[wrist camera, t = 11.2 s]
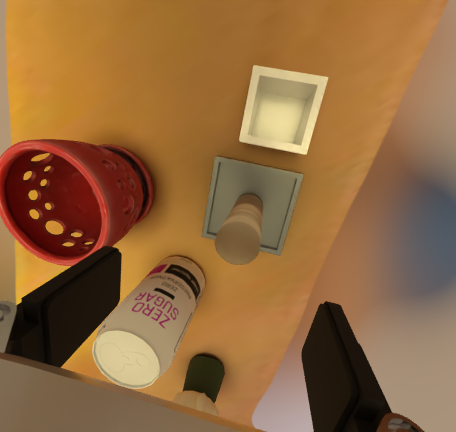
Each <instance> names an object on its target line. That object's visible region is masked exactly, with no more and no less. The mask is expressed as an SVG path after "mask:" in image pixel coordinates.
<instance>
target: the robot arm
mask: <svg viewBox="0 0 456 432" xmlns="http://www.w3.org/2000/svg"><path fill="white" fill-rule="evenodd" d="M121 256H122V255H121V253H120V252H119V250H118V249H117V248H114V247H110V246H103V247H102V248H100V249H98V250H97V251H95V252H94V253H92V254H90V255H89V256H87V257H86V258H84V259H83V260H81V261H79V262H78V263H76V264H75V265H73V266H72V267H70V268H68V269H67V270H65V271H64V272H62V273H61V274H59V275H57V276H56V277H54V278H53V279H51V280H50V281H48V282H46V283H45V284H43V285H42V286H40V287H38V288H37V289H35V290H34V291H32V292H31V293H29V294H27V295H26V296H24V297H23V298H21V299H22V302H21V303H20V304H18V305H17V306H16V305H15V304H14V303H12V302H9V301H0V432H265V431H262V430H259V429H256V428H253V427H250V426H247V425H243V424H240V423H237V422H234V421H231V420H228V419H225V418H221V417H218V416H215V415H212V414H209V413H206V412H202V411H199V410H196V409H193V408H190V407H186V406H183V405H180V404H177V403H173V402H170V401H167V400H164V399H161V398H157V397H154V396H151V395H148V394H144V393H141V392H138V391H135V390H132V389H128V388H125V387H122V386H118V385H115V384H112V383H109V382H105V381H102V380H99V379H95V378H92V377H89V376H86V375H82V374H79V373H76V372H72V371H69V370H66V369H62V368H60V367H61V366H62V365H63V364H64V363H65V362H66V361H67V360H68V359H69V358H70V357H71V356H72V354H73V353H74V352H75V351H76V350H77V349H78V348H79V347H80V346H81V345H82V343H83V342H84V341H85V340H86V339H87V338H88V337H89V336H90V335H91V334H92V333H93V331H94V330H95V329H96V328H97V327H98V326H99V325H100V324H101V323H102V322H103V321H104V319H105V318H106V317H107V316H108V315H109V314H110V313H111V312H112V311H113V310H114V309H115V307H116V306H117V305H118V303H119V300H120V282H121ZM302 363H303V369H304V375H305V381H306V387H307V393H308V399H309V404H310V411H311V417H312V422H313V429H314V432H424V431H423V430H422V429H421V428H420V427H419V426H418V425H417V424H415V423H414V422H412V421H411V420H410V419H408V418H407V417H404V416H402V415H400V414H397V413H392V411H391V409H390V407H389V405H388V403H387V401H386V399H385V396H384V394H383V392H382V390H381V388H380V386H379V384H378V381H377V380H376V377H375V375H374V373H373V371H372V369H371V367H370V364H369V362H368V360H367V358H366V356H365V354H364V352H363V349H362V347H361V346H360V344H359V343H358V342H357V340H356V338H355V335H354V333H353V331H352V329H351V327H350V325H349V323H348V320H347V318H346V316H345V314H344V312H343V310H342V307H341V306H340V305H339V304H335V303H331V302H327V301H326V302H325V303H324V304H320V305H319V307H318V310H317V312H316V315H315V318H314V320H313V323H312V325H311V328H310V330H309V333H308V336H307V338H306V341H305V344H304V346H303V349H302Z"/></svg>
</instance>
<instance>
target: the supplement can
mask: <svg viewBox="0 0 456 432" xmlns="http://www.w3.org/2000/svg"><path fill="white" fill-rule="evenodd" d="M204 288H205V279H204V276H203V274H202V271H201V269H200V268H199V267H198V266H197V265H196V264H195V263H194V262H192V261H190V260H188V259H186V258H183V257H177V256H174V257H168V258H166V259H164V260H163V261H161V262H160V263H159V264H158V265H157V266H156V267H155V268H154V269H153V270H152V271H151V272H150V273H149V274H148V275H147V276H146V277H145V278H144V279H143V281H142V282H141V283H140V284H139V285H138V286H137V287H136V288H135V289H134V290H133V291H132V292H131V293H130V294H129V295H128V296H127V297H126V298H125V299H124V300H123V301H122V302H121V303H120V305H119V306H118V307H117V308H116V309H115V310H114V311H113V312H112V313H111V314H110V315H109V316H108V317H107V318H106V319H105V320H104V322H103V323H102V325H101V326H100V328H99V330H98V334H97V338H96V340H95V342H94V343H93V351H92V353H93V357H94V361H95V363H96V365H97V366H98V368H99V369H100V371H101V372H102V373H103V374H104V375H105V376H106V377H107V378H108V379H110V380H111V381H113V382H115V383H117V384H118V385H120V386H124V387H127V388H131V389H137V388H145V387H147V386H150V385H152V384H153V383H154V381H155V380H156V379H157V378H159V377H160V376H161V375H163V374H164V373H165V372H166V371H167V369H168V368H169V367H170V365H171V363H172V361H173V359H174V356H175V354H176V352H177V350H178V348H179V345H180V343H181V341H182V339H183V336H184V334H185V332H186V330H187V328H188V325H189V323H190V321H191V319H192V316H193V314H194V312H195V310H196V308H197V305H198V303H199V301H200V299H201V297H202V294H203V291H204Z"/></svg>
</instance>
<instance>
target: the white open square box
mask: <svg viewBox="0 0 456 432" xmlns="http://www.w3.org/2000/svg"><path fill="white" fill-rule="evenodd" d="M327 80H328V77H324V76H317V75H311V74H305V73H299V72H293V71H287V70H281V69H275V68H268V67H262V66H256V65H254V66H253V71H252V76H251V81H250V86H249V91H248V97H247V102H246V107H245V112H244V117H243V122H242V127H241V132H240V138H239V142H243V143H246V144H251V145H256V146H261V147H266V148H271V149H276V150H281V151H286V152H291V153H296V154H304V155H306V154H307V151H308V147H309V144H310V140H311V137H312V133H313V130H314V126H315V123H316V119H317V116H318V112H319V109H320V105H321V102H322V98H323V95H324V91H325V88H326V84H327Z"/></svg>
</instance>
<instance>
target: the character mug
mask: <svg viewBox="0 0 456 432" xmlns="http://www.w3.org/2000/svg"><path fill="white" fill-rule="evenodd" d="M224 374H225V373H224V368H223V366H222V365H221V363H220V362H219V361H217V360H215V359H213V358H209V357H205V356H198V357H195V358H193V359H192V360H191V361H190V364H189V367H188V371H187V374H186V379H185V383H184V388H183V392H181V393H178V394H177V395H176V397H175V398H174V399H173V401H172V402H173V403H177V404H180V405H183V406H186V407H190V408H193V409H196V410H199V411H202V412H206V413H209V414H212V415H215V416H218V417H219V414H218V410H217V408H216V406H215V404H214V403H215V401H216V398H217V395H218V392H219V390H220V387H221V384H222V380H223V377H224Z"/></svg>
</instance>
